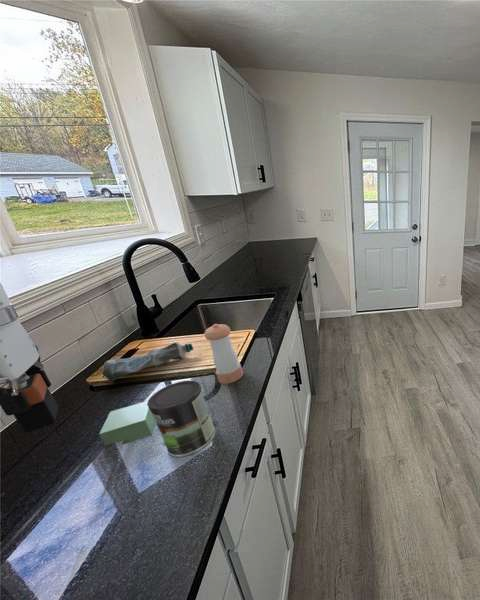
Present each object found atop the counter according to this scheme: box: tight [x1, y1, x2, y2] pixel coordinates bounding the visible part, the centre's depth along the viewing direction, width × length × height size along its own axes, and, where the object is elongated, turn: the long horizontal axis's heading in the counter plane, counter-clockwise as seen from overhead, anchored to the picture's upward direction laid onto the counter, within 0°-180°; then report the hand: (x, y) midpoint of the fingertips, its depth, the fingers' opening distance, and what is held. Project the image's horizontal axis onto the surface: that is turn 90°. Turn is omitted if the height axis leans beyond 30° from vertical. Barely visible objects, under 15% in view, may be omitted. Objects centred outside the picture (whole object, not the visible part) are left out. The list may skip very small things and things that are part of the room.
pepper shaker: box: [204, 323, 244, 385], centre depth 98 cm, size 7×7×19 cm
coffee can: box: [147, 380, 217, 458], centre depth 75 cm, size 10×10×14 cm
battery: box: [6, 373, 59, 434], centre depth 63 cm, size 4×7×10 cm, turn 42°
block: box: [98, 400, 156, 447], centre depth 81 cm, size 9×9×5 cm
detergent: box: [102, 341, 194, 383], centre depth 109 cm, size 13×7×25 cm
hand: (30, 399), depth 62 cm, fingers closed on battery, 7 cm apart
